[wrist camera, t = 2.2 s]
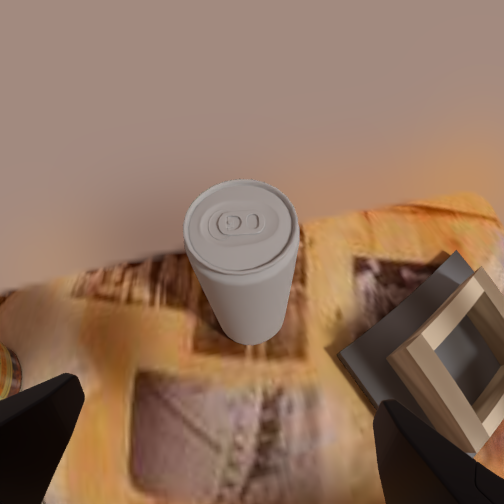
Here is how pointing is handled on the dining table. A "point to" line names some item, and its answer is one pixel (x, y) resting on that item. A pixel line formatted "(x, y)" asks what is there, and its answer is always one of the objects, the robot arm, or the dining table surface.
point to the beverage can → (244, 255)
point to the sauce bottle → (9, 373)
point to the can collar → (440, 355)
